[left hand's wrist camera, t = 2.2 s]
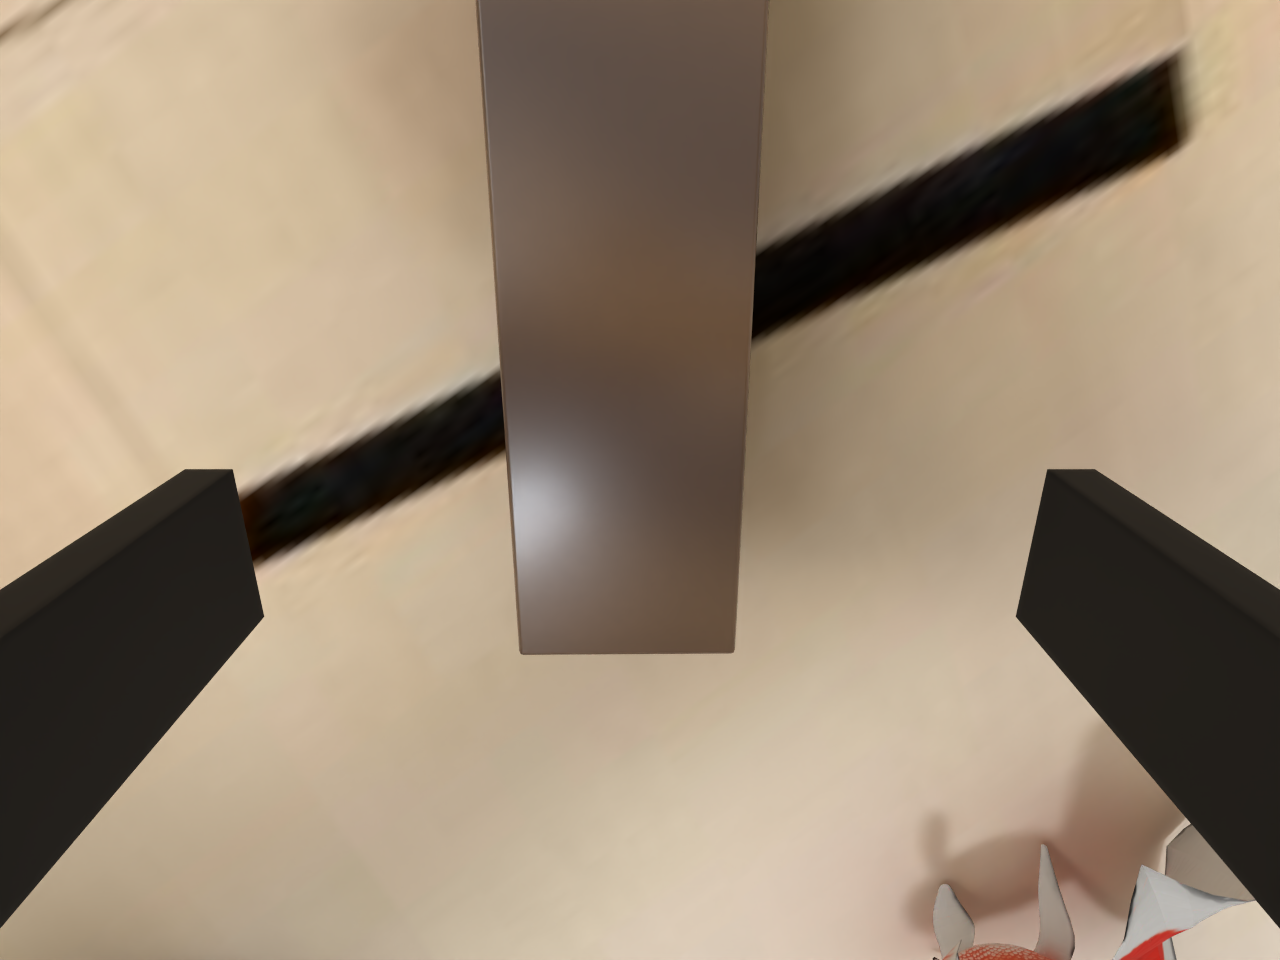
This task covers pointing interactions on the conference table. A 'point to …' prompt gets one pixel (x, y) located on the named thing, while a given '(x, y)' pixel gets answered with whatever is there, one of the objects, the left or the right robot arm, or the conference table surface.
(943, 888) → the fish
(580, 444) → the plank
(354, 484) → the conference table surface
